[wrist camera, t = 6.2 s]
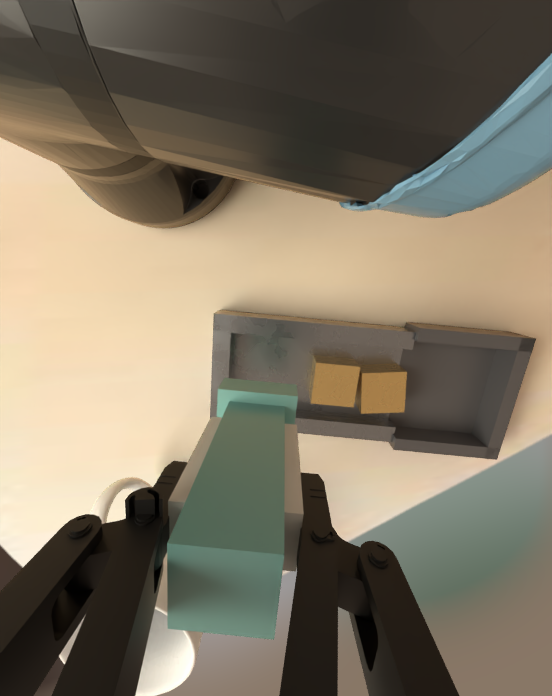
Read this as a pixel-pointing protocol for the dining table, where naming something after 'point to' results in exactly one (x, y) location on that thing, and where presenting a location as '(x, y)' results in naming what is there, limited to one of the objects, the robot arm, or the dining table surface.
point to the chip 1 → (333, 381)
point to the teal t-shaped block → (234, 518)
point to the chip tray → (459, 389)
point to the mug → (163, 644)
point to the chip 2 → (381, 388)
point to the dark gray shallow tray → (305, 363)
